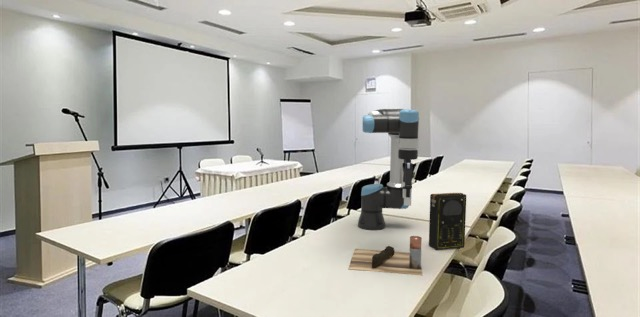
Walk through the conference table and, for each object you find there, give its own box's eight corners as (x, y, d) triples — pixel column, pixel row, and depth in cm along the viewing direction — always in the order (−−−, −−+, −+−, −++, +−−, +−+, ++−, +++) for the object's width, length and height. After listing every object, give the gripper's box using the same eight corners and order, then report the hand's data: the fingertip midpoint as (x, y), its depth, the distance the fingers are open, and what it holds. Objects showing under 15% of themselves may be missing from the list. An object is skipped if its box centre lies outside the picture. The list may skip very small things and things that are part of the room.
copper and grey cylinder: (409, 264, 147) (409, 235, 146) (420, 265, 146) (421, 236, 145) (409, 269, 143) (410, 238, 141) (421, 269, 142) (422, 239, 141)
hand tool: (386, 253, 159) (386, 243, 159) (394, 255, 157) (394, 245, 157) (365, 267, 144) (365, 256, 144) (375, 269, 142) (375, 258, 141)
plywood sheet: (354, 249, 166) (354, 248, 166) (418, 253, 160) (418, 253, 160) (348, 269, 142) (348, 268, 142) (422, 275, 137) (422, 274, 137)
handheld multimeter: (436, 251, 163) (438, 196, 161) (426, 245, 172) (427, 192, 169) (466, 248, 167) (468, 194, 165) (455, 242, 176) (456, 191, 174)
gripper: (397, 146, 159) (396, 194, 161) (399, 151, 134) (397, 208, 137) (415, 146, 157) (414, 195, 160) (420, 152, 133) (418, 209, 136)
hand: (406, 201), depth 148 cm, fingers open, 13 cm apart
